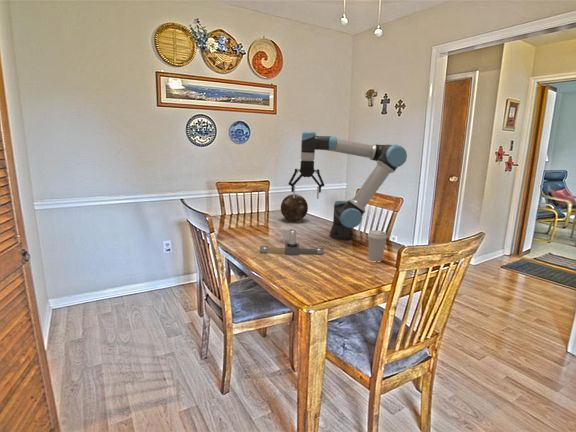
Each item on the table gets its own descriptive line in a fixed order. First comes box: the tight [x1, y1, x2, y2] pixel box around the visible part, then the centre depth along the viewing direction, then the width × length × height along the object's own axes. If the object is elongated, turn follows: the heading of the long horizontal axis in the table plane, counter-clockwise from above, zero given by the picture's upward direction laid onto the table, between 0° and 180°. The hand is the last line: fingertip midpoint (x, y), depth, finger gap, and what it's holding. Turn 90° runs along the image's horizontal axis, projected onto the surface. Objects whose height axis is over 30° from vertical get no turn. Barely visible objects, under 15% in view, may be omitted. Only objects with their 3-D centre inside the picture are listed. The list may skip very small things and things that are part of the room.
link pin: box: [288, 229, 297, 247], centre depth 178 cm, size 4×4×12 cm
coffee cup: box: [367, 229, 388, 262], centre depth 170 cm, size 10×10×15 cm
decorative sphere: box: [280, 193, 309, 222], centre depth 246 cm, size 20×20×20 cm
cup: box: [274, 226, 293, 243], centre depth 198 cm, size 7×10×8 cm
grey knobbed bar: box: [259, 242, 325, 256], centre depth 179 cm, size 34×7×4 cm, turn 91°
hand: (305, 198), depth 191 cm, fingers open, 13 cm apart
